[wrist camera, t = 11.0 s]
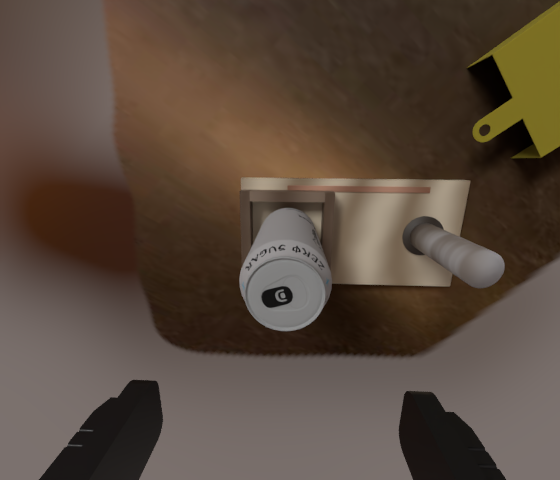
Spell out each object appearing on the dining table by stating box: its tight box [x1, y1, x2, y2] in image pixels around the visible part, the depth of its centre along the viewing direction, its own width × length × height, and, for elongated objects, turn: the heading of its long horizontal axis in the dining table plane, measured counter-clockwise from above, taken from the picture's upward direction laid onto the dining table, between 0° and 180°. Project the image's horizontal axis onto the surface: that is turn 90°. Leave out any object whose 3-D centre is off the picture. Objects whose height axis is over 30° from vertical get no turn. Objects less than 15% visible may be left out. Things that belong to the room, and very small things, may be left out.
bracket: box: [467, 1, 560, 158], centre depth 24 cm, size 16×8×15 cm
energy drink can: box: [240, 208, 332, 331], centre depth 24 cm, size 6×6×15 cm
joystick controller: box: [240, 177, 504, 288], centre depth 26 cm, size 24×12×11 cm, turn 89°
